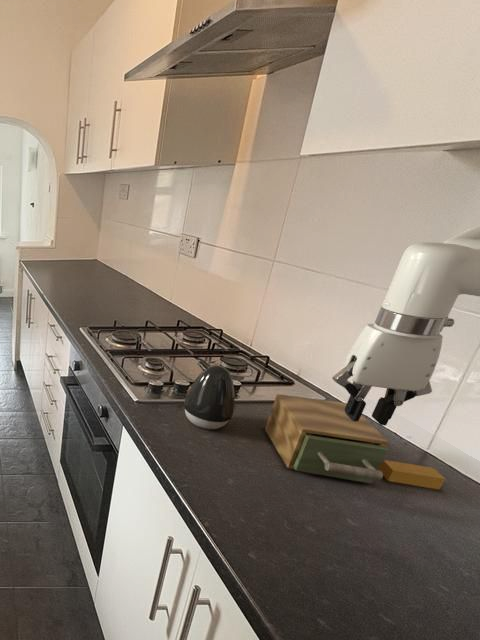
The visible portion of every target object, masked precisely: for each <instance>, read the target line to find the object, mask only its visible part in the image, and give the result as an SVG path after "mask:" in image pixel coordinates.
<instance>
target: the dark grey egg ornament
mask: <svg viewBox="0 0 480 640" xmlns="http://www.w3.org/2000/svg"><path fill="white" fill-rule="evenodd" d="M197 365H198V366H199V367H200V369H201V370H202V371H201V373H200V374H199V375H198V376H197V377H196V378H195V379H194V381H193V383H192V384H191V386H190V388H189V389H188V392H187V394H186V397H185V399H184V401H183V408H184V413H185V416H186V418H187V419H188V421H190V423H191V424H192V425H195V426H196V427H199V428H202V429H205V430H218V429H220V428H223V427H224V426H225V425H226V424H228V422H229V421H230V420H232V417H233V415H234V411H235V386H234V381H233V377H232V374H231V372H230V371H229V369H227V368H226V367H225V366H222V365H220V364H219V365H218V364H214V365H210V366H208V365H206V364H205V363H204V362H203V361H202V360H199V361H198V362H197Z"/></svg>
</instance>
